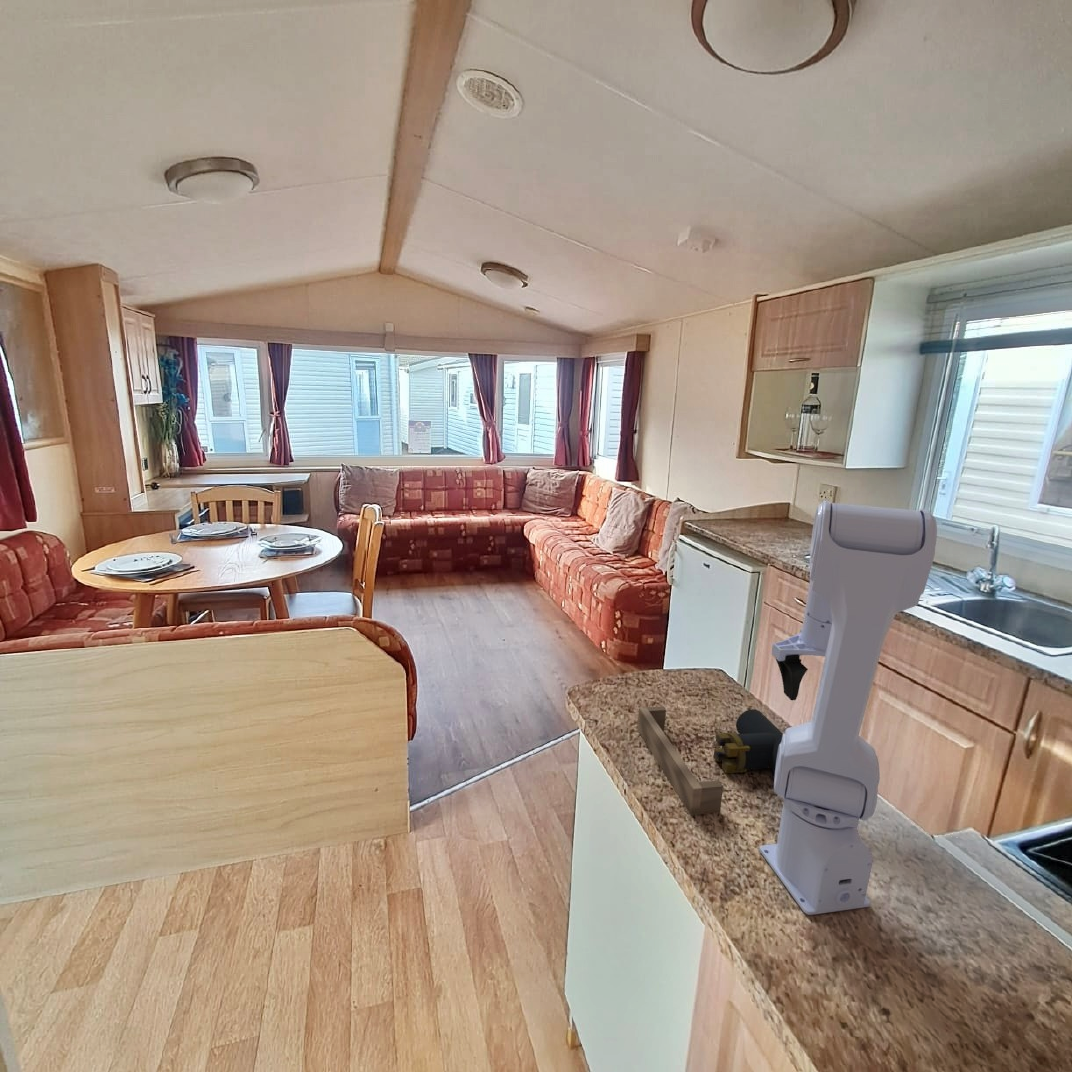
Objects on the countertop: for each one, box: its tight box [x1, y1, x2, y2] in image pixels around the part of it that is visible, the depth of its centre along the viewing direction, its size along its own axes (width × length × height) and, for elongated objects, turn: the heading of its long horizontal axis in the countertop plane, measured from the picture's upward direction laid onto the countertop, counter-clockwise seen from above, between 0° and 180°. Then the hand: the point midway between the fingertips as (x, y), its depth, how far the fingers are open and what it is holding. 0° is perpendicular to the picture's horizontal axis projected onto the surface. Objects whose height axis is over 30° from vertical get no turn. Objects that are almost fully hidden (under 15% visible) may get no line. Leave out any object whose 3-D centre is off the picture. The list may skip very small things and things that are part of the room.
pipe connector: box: [713, 708, 784, 774], centre depth 86 cm, size 12×5×15 cm
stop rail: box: [636, 705, 724, 816], centre depth 85 cm, size 20×4×4 cm, turn 10°
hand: (812, 692), depth 87 cm, fingers open, 7 cm apart
